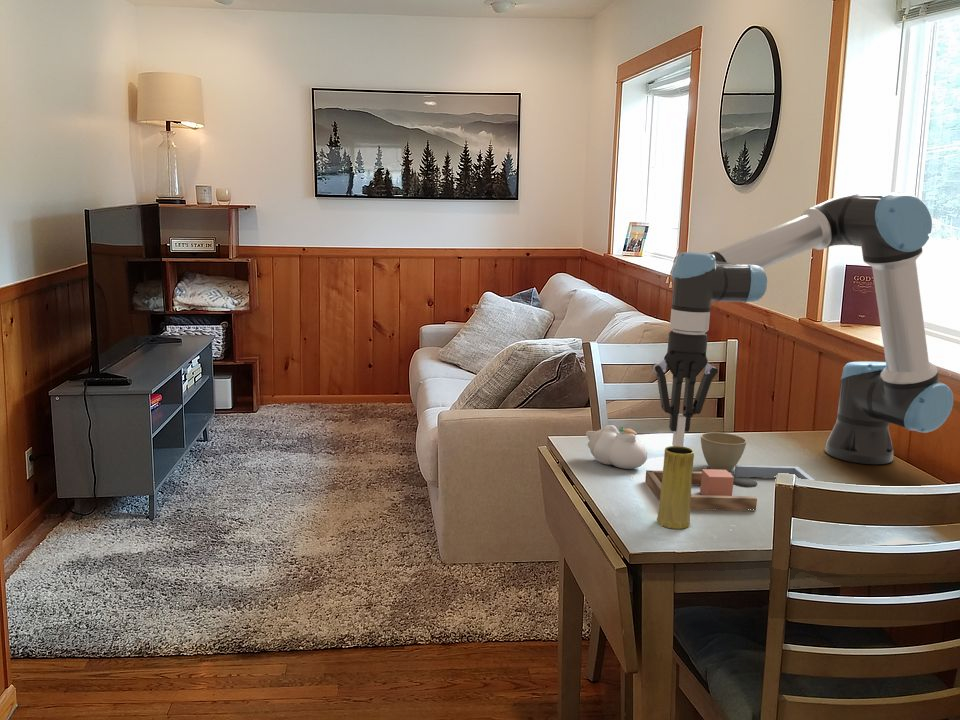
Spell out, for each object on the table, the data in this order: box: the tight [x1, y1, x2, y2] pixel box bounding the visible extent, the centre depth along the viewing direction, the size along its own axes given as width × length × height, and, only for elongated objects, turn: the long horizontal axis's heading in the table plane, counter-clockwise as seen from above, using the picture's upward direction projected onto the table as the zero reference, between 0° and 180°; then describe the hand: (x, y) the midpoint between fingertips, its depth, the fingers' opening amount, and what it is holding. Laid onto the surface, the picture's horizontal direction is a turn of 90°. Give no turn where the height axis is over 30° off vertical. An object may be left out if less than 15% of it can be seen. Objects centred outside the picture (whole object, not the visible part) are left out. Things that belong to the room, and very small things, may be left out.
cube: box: [699, 468, 735, 496], centre depth 186 cm, size 5×5×5 cm
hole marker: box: [733, 477, 758, 488], centre depth 195 cm, size 5×5×1 cm
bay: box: [734, 464, 815, 480], centre depth 195 cm, size 14×10×2 cm
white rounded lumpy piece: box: [585, 424, 648, 470], centre depth 204 cm, size 10×8×15 cm
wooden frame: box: [644, 469, 758, 511], centre depth 186 cm, size 18×16×2 cm
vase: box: [656, 445, 695, 530], centre depth 168 cm, size 6×6×14 cm
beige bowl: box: [700, 431, 748, 472], centre depth 204 cm, size 10×10×7 cm
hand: (677, 446), depth 183 cm, fingers closed
